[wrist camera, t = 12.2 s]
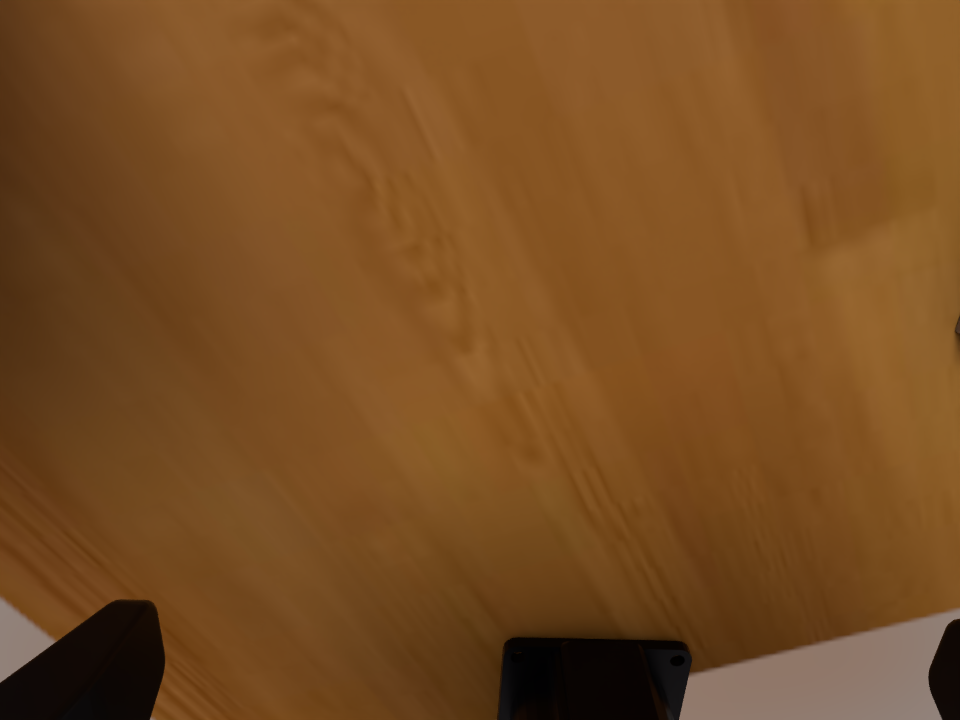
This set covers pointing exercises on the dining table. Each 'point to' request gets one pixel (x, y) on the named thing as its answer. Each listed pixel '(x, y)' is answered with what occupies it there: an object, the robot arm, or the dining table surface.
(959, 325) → the socket board
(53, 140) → the dining table surface
